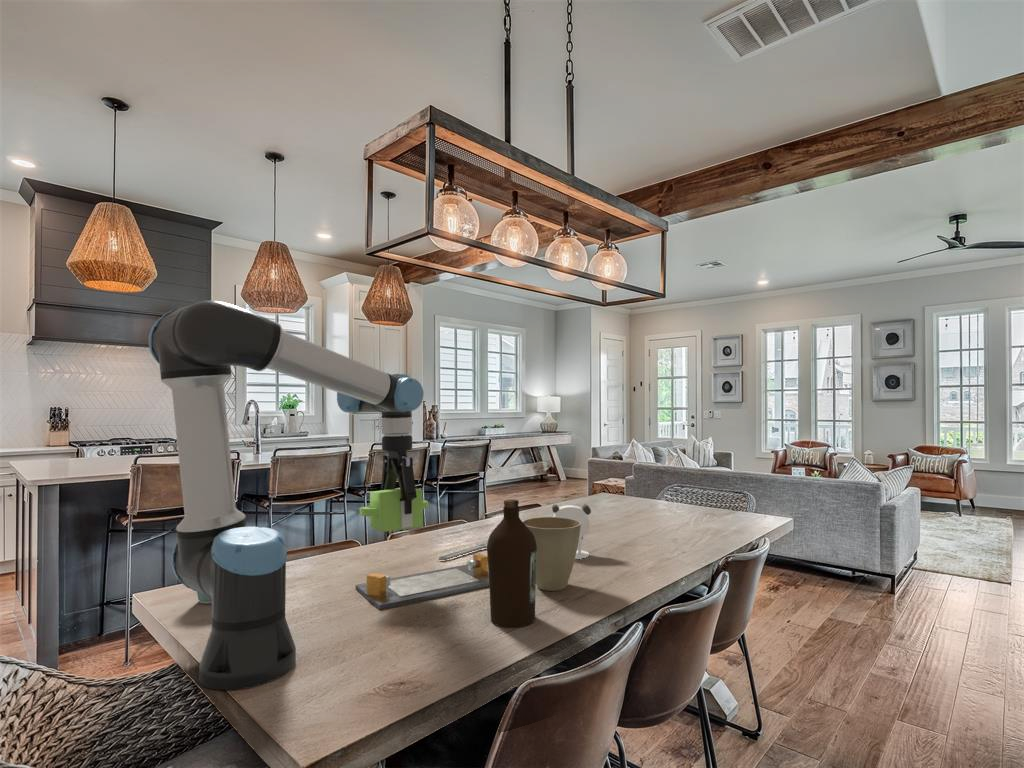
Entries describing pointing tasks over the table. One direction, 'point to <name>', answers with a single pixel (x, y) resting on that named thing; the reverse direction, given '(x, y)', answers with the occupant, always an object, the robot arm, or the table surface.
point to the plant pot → (554, 550)
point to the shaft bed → (425, 584)
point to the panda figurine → (580, 516)
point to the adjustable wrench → (465, 551)
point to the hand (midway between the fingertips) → (398, 523)
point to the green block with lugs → (392, 510)
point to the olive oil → (512, 570)
